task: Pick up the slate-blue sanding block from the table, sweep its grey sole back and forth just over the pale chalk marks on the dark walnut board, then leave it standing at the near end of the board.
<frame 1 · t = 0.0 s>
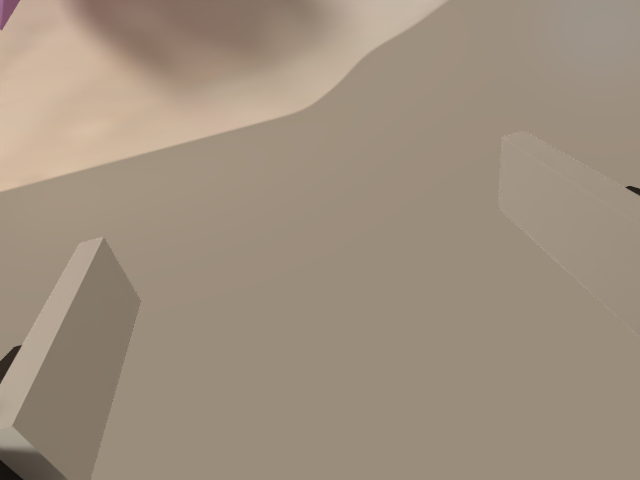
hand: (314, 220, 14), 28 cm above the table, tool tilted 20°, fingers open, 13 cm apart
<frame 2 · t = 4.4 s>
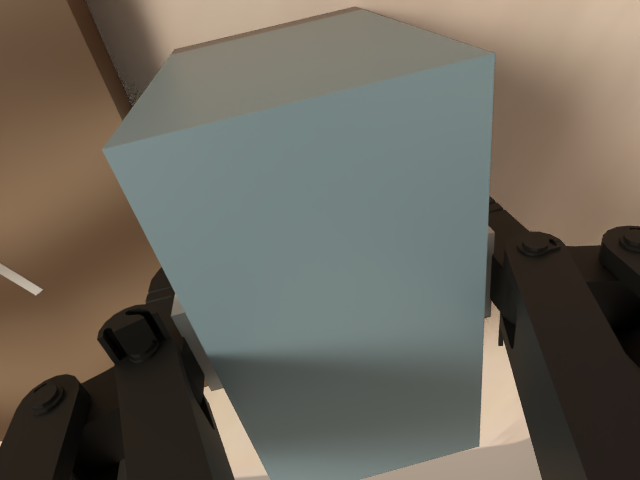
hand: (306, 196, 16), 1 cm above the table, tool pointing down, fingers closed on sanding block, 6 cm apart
sanding block: (301, 178, 17), on the table, touching gripper
when the fingers open (3 cm above the table, at t = 17.8 s): sanding block stays where it is, resting on board.
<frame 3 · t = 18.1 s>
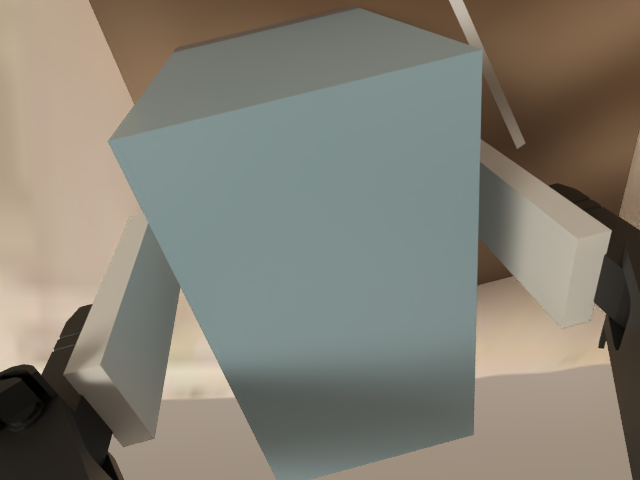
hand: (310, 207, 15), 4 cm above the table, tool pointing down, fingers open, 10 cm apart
board: (406, 133, 19), on the table
sanding block: (300, 174, 17), point 2 cm above the table, touching board
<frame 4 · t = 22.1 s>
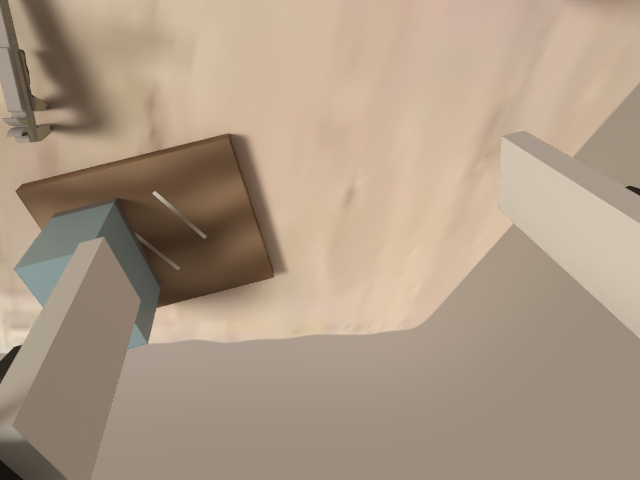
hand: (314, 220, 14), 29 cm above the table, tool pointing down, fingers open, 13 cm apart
board: (161, 231, 45), on the table
sanding block: (112, 251, 44), point 2 cm above the table, touching board
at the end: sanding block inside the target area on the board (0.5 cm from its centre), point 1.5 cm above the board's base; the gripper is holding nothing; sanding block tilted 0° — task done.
